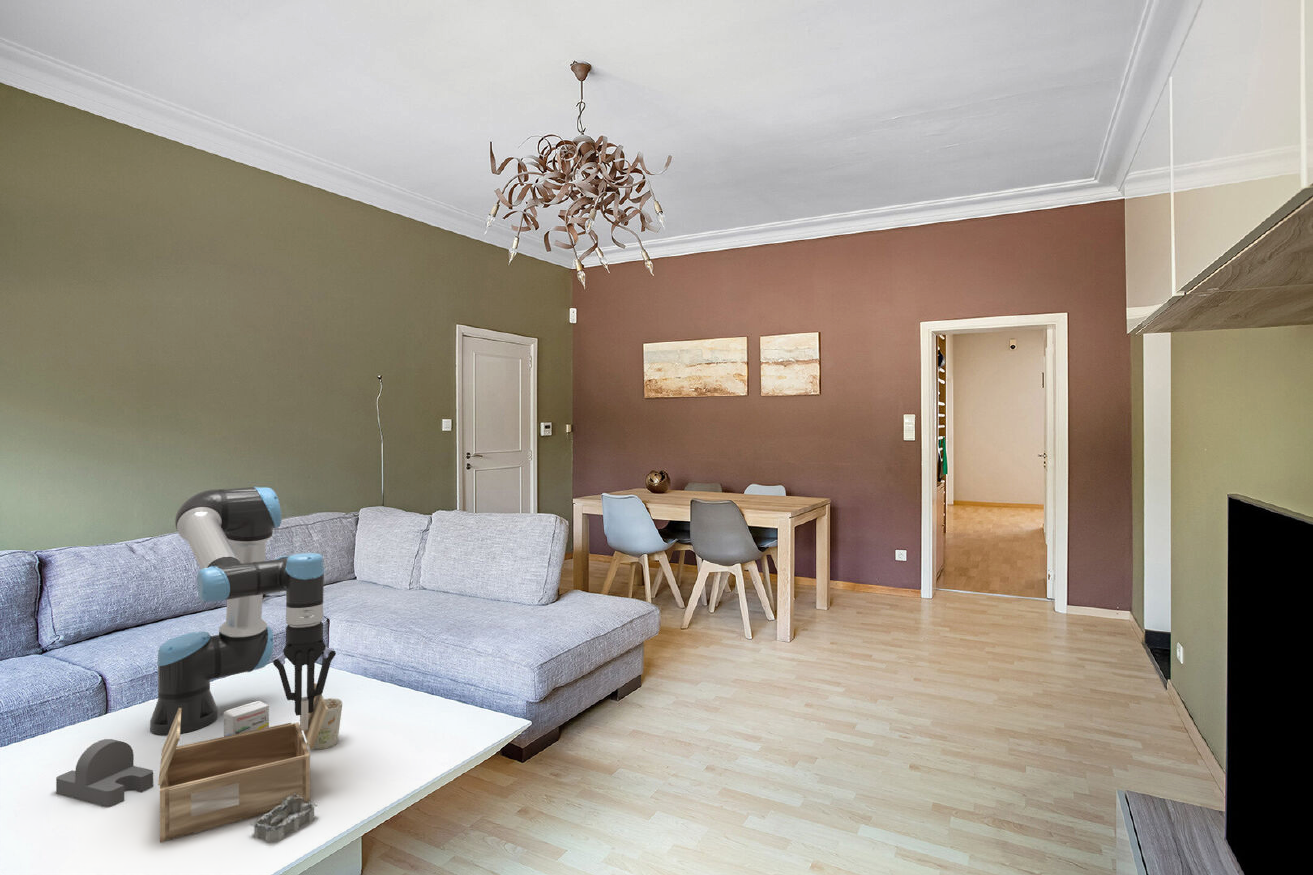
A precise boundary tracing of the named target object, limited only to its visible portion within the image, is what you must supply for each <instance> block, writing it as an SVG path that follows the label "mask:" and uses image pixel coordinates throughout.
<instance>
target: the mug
mask: <svg viewBox="0 0 1313 875" xmlns="http://www.w3.org/2000/svg"><path fill="white" fill-rule="evenodd" d="M324 701H325V703H326V705H327V707H328V711H327V713H326V716H325V718H324V721H323V724H322V726H321V729H320V731H319V734H318V736H317V739H316V742H315V744H314V747H313V749H314V750H325V749H329V748H331V747H333V746H335V745H336V744H337V743H338V741H339V735H340V734H339V733H340V726H341V719H342V718H341V717H342V711H343V701H342V700H341V699H339V698H324ZM305 742H306V745H307V747H309V746H308V743H307V741H305Z"/></svg>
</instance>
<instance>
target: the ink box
mask: <svg viewBox="0 0 1313 875" xmlns="http://www.w3.org/2000/svg"><path fill="white" fill-rule="evenodd" d="M269 707H270V706H269V704H267V703H264V702H263V701H260V700H256V701H253V702H250V703H249V702H248V703H246V704H243V705H240V706H237V707H236V706H235V707H234V708H230V709H227V710H226V711H224V712H223V737H225V736H230V735H234V734H239V733H244V732H249V731H253V730H258V729H263V728H268V727H270V712H269V711H270V708H269Z"/></svg>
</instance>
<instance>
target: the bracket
mask: <svg viewBox="0 0 1313 875" xmlns="http://www.w3.org/2000/svg"><path fill="white" fill-rule="evenodd" d="M134 758H135V756H134V750H133V748H132V746H131V745H130V744H129V743H127V742H124V741H122V740H118V739H112V738H104V739H101V740H98V741H96V742H94V743H93V744H91V745H89V747H87V748H86V749H85V750H84V751H83V752H82V753H81V755H80V757H79V758H78V760H77V762H76V765H75V770H73V769H72V770H70V771H67V772H65V773H62V774H60V775H57V776H56V778H55V779H56V780H55V781H56V782H55V787H56V788H55V790H56V791H55V792H56V794H57V795H59V796H63V797H67V798H71V799H74V800H79V801H82V802H85V803H89V804H93V805H97V806H101V807H104V808H111V807H114V806H116V805H119V804H121V803H123V802H124V801H125V792H128V791H135V792H138V793H144V792H146V791H149V790H150V789H152V788H153V787H154V770H153V769H149V768H145V767H141V766H136V765H134V764H135V762H134Z"/></svg>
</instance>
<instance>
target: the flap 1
mask: <svg viewBox="0 0 1313 875" xmlns="http://www.w3.org/2000/svg"><path fill="white" fill-rule="evenodd" d="M181 709H182V708H179V709H178V711H177V714H176V716H175V719H174V721H173V724H172V726H171V729H170V731H169V734H168V735H166V738H165V741H164V744H163V746H162V749H161V756H160V763H159V764H160V765H159V774H158V782H157V785H158V786H160V785H161V784H162V781H163V779H164V776H165V774H166V771H167V769H168V766H169V764H170V761H171V759H172V757H173V754H174V752H175V749H176V747H177V746H178V743H179V741H180V737H181V733H180V725H181Z"/></svg>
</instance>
